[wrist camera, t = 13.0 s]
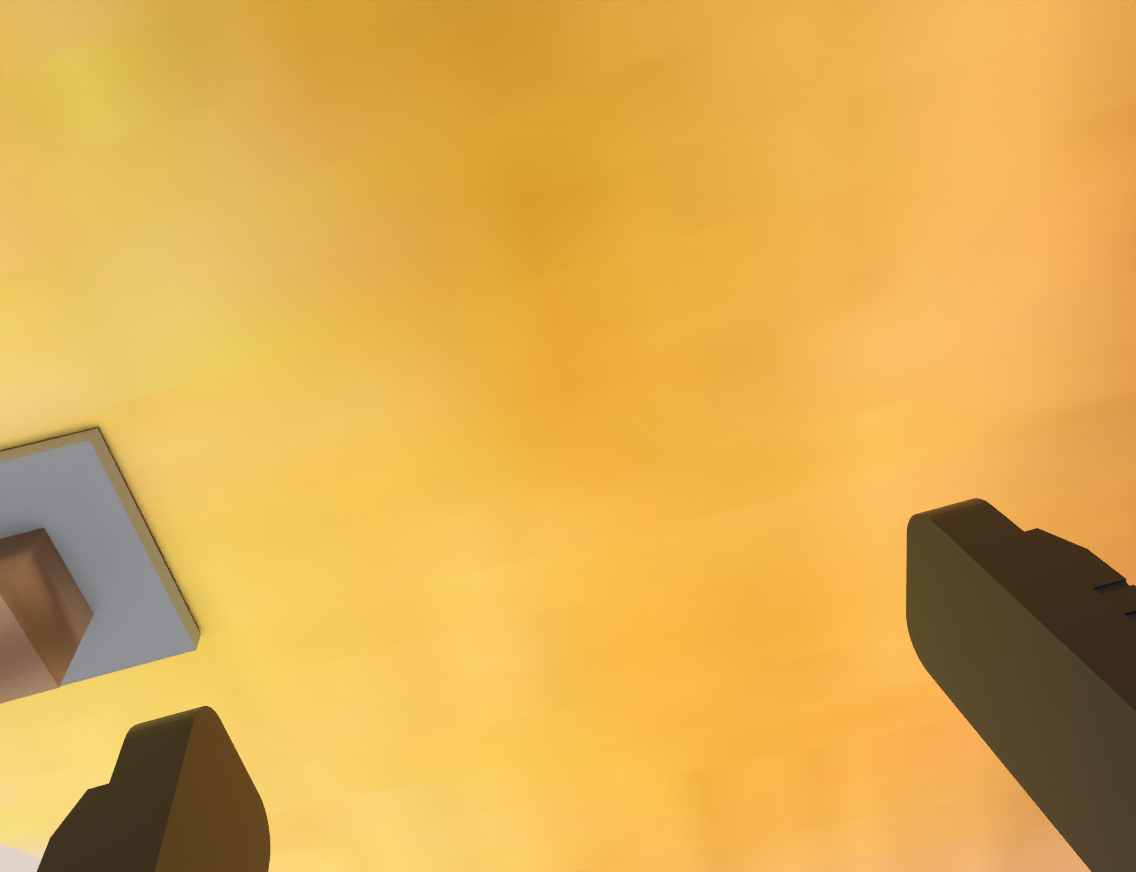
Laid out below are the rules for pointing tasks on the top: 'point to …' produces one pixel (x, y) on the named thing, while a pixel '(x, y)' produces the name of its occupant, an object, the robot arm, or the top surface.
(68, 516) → the plate
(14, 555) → the walnut cube
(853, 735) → the top surface
